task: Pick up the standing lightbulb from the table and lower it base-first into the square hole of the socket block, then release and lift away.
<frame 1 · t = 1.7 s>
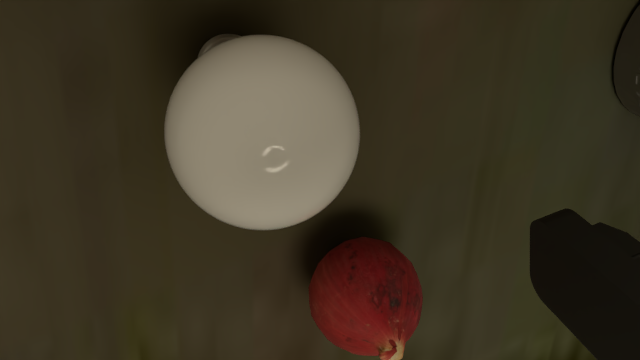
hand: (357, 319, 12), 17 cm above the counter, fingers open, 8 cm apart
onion: (340, 250, 33), on the counter
lightbulb: (224, 58, 26), on the counter
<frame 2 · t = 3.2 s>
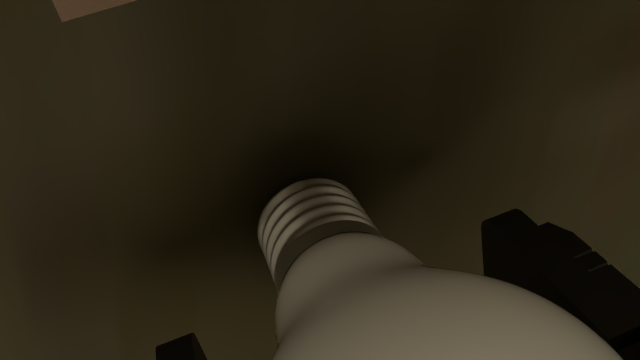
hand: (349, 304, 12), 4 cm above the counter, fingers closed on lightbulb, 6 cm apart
lightbulb: (300, 206, 15), on the counter, touching gripper
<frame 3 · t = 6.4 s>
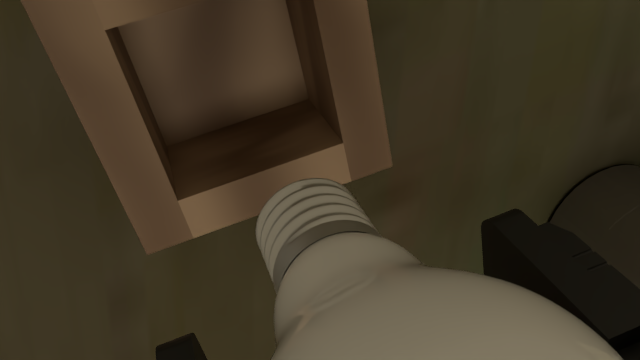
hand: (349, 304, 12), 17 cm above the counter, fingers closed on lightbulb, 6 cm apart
socket block: (215, 49, 26), on the counter
lightbulb: (298, 206, 15), point 13 cm above the counter, touching gripper
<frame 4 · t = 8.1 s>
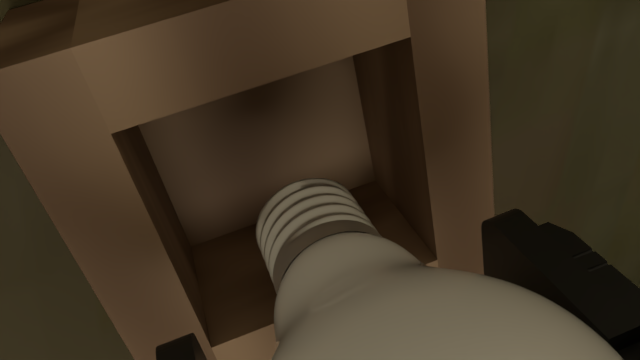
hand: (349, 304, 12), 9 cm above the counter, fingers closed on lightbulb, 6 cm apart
socket block: (257, 122, 20), on the counter
lightbulb: (298, 206, 15), point 5 cm above the counter, touching gripper
when the fingers open (6 cm above the counter, at t = 9.5 s): lightbulb drops 2 cm, resting on socket block.
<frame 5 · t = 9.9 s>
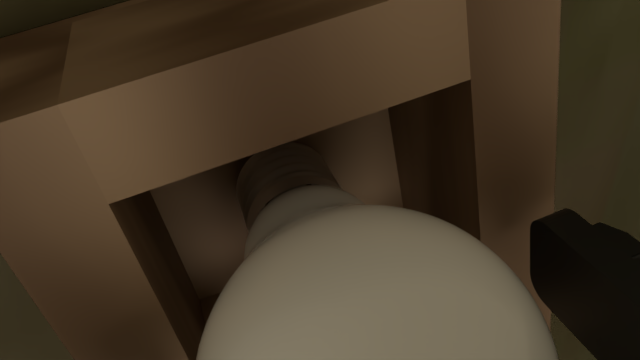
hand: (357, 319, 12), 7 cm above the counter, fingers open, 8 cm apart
socket block: (274, 162, 17), on the counter
lightbulb: (276, 169, 17), resting on socket block
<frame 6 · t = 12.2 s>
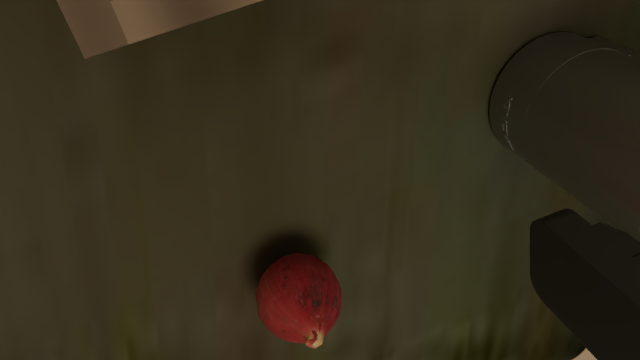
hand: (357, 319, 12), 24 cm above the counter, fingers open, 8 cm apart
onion: (283, 262, 42), on the counter
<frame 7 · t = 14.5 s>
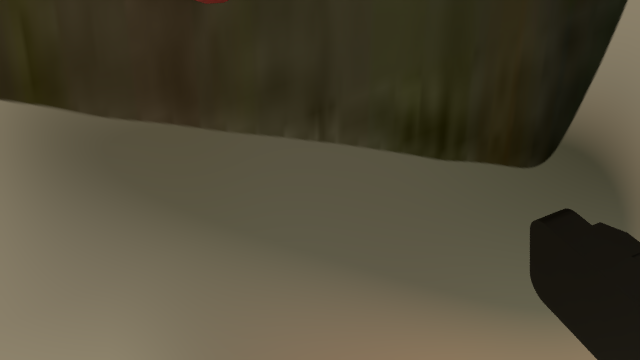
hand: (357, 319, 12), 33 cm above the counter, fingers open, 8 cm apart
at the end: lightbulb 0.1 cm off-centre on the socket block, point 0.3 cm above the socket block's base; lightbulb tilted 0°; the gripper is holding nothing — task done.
